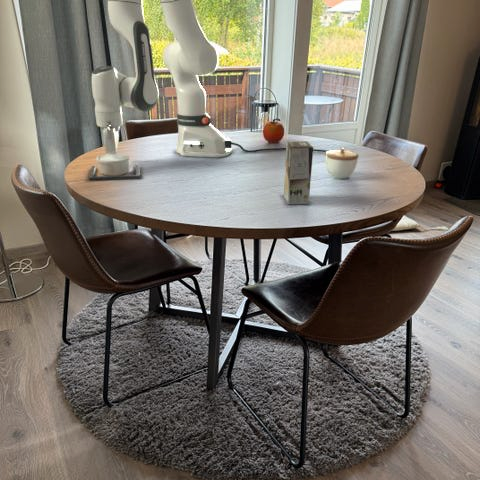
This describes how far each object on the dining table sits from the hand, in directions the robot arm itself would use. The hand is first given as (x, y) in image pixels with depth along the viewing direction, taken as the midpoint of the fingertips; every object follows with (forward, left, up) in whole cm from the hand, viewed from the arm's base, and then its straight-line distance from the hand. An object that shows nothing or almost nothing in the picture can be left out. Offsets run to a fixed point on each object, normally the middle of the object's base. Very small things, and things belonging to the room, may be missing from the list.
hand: (114, 161), depth 177 cm
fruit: (-41, -64, -2) cm, 76 cm away
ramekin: (-4, +6, -2) cm, 8 cm away
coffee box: (-70, +13, -2) cm, 71 cm away
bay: (-4, +7, -2) cm, 8 cm away
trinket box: (-78, -18, -2) cm, 80 cm away
